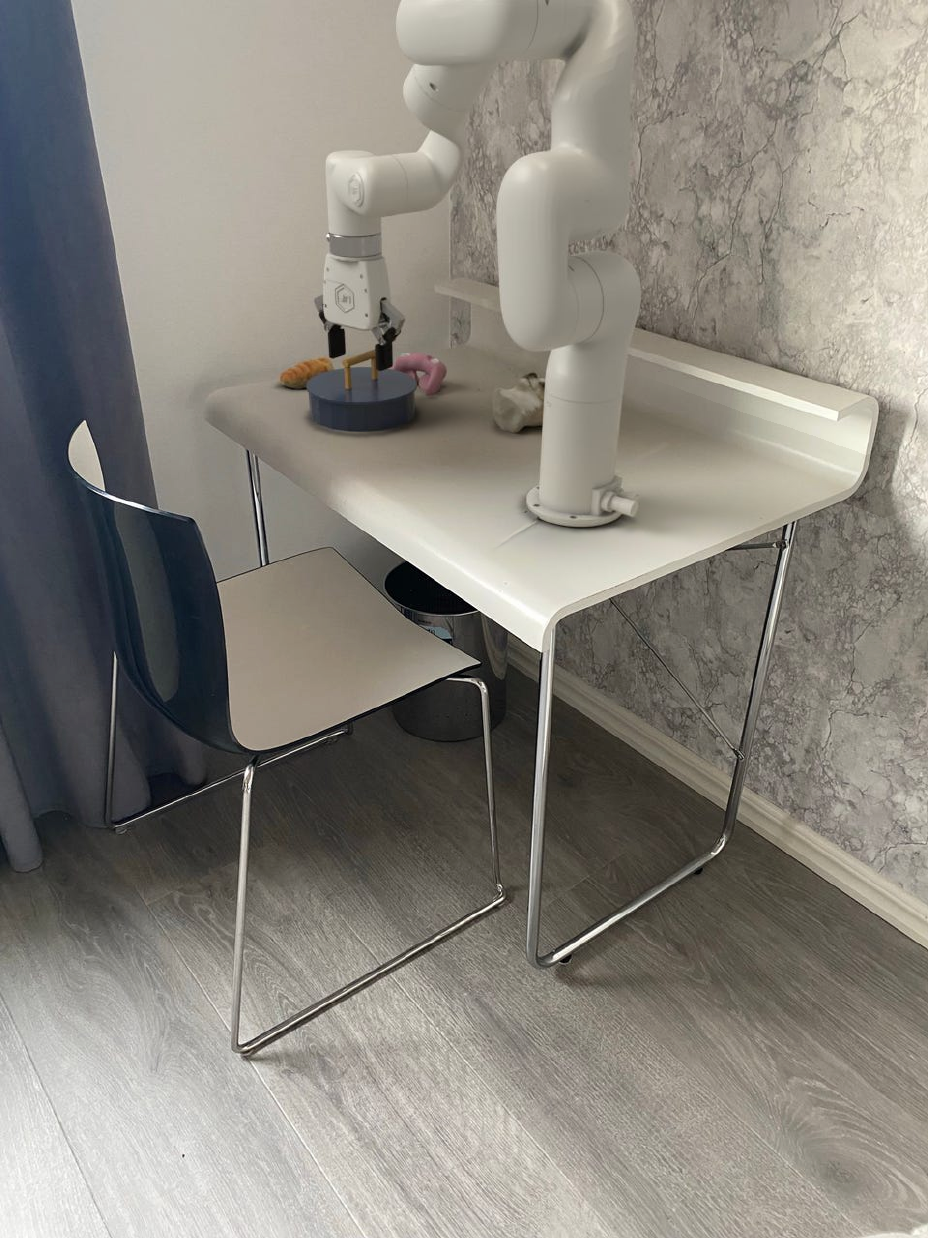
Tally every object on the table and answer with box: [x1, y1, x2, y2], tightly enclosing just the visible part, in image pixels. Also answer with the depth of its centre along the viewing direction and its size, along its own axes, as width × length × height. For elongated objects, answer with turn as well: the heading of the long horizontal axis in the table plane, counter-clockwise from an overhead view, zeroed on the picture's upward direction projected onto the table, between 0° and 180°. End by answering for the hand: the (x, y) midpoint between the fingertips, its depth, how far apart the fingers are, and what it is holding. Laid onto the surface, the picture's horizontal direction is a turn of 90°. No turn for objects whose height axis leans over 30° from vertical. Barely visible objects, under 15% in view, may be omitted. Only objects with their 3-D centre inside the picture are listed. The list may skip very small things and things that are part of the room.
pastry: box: [279, 356, 336, 390], centre depth 170 cm, size 9×7×4 cm
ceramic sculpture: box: [492, 372, 545, 434], centre depth 152 cm, size 11×9×15 cm
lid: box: [306, 348, 418, 405], centre depth 154 cm, size 17×17×6 cm
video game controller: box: [390, 351, 448, 396], centre depth 168 cm, size 10×5×7 cm, turn 58°
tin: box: [308, 391, 416, 433], centre depth 156 cm, size 16×16×5 cm
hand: (360, 362), depth 153 cm, fingers open, 9 cm apart
